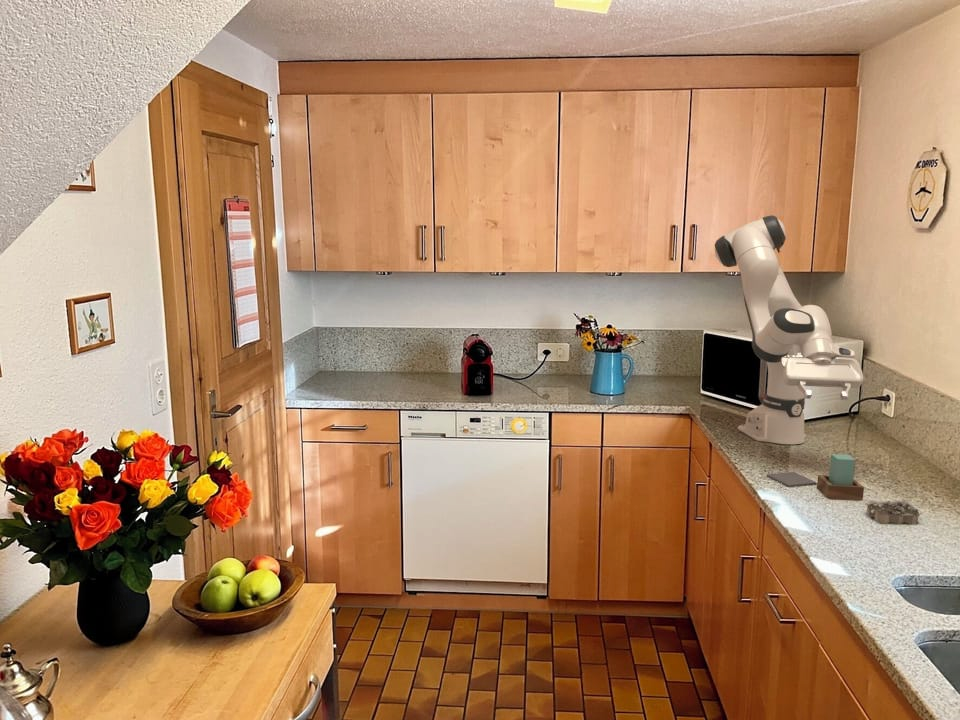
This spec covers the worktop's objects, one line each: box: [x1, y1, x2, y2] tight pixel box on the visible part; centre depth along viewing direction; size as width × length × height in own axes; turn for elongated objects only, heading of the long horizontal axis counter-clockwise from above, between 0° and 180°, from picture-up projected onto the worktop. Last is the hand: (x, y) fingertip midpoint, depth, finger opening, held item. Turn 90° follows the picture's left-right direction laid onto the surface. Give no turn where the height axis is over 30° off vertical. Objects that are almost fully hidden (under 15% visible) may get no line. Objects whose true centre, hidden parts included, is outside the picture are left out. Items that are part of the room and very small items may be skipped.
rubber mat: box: [765, 471, 817, 488], centre depth 207 cm, size 9×9×1 cm
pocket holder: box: [816, 474, 865, 501], centre depth 197 cm, size 8×8×4 cm
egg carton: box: [864, 499, 923, 525], centre depth 182 cm, size 11×8×4 cm
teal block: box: [828, 453, 857, 486], centre depth 197 cm, size 4×4×10 cm
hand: (826, 398), depth 206 cm, fingers open, 8 cm apart
